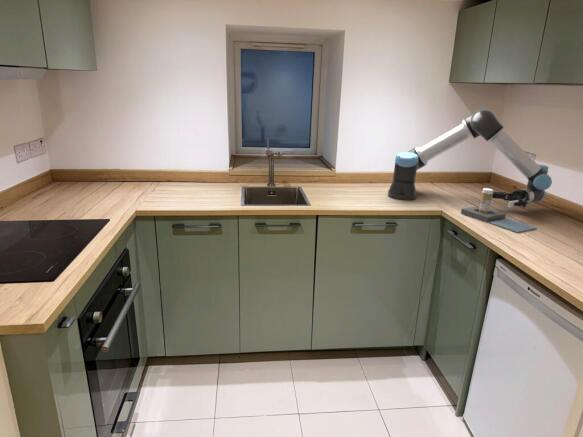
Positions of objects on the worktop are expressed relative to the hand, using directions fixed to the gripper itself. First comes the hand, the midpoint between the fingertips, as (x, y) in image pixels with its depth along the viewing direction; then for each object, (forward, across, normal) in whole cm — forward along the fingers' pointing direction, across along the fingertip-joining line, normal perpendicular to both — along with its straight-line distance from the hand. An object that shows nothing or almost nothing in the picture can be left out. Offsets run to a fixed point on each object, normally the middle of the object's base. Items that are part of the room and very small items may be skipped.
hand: (495, 200), depth 196 cm
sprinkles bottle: (+7, +1, -8) cm, 10 cm away
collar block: (+7, +1, -7) cm, 10 cm away
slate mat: (+7, -14, -7) cm, 18 cm away
